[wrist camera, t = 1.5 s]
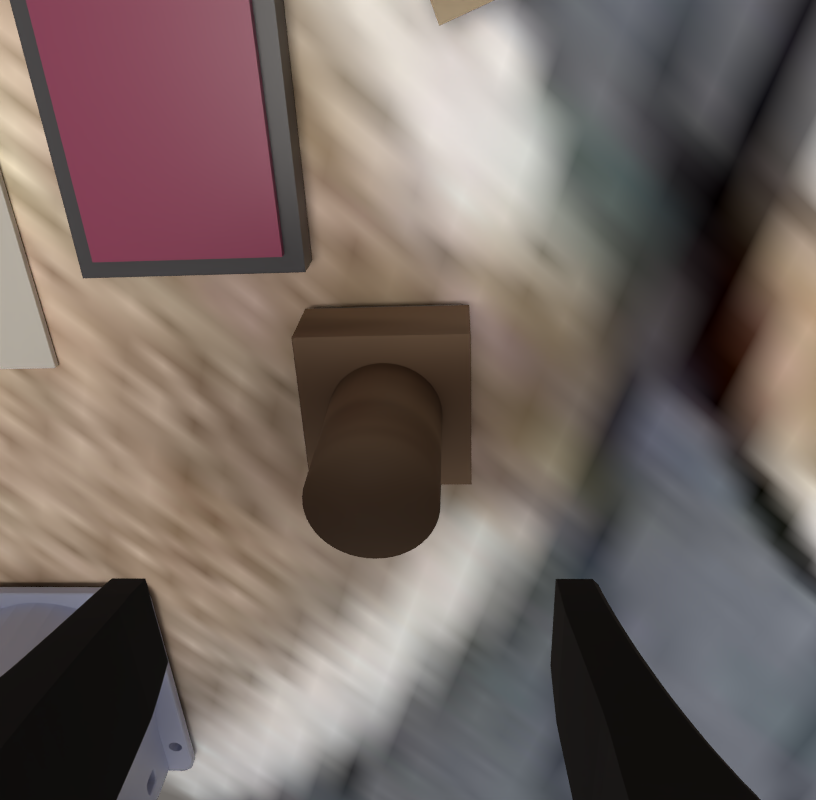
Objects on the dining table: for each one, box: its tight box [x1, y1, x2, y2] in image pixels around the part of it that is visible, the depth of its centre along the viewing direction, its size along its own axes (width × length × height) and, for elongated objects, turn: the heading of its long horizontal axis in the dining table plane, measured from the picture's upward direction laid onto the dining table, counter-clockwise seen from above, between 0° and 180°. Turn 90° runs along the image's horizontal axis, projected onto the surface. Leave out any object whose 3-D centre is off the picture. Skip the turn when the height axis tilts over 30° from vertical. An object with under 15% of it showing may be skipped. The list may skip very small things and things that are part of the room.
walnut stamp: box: [292, 304, 471, 558], centre depth 19 cm, size 4×4×6 cm
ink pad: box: [10, 0, 312, 278], centre depth 18 cm, size 9×6×1 cm, turn 3°
